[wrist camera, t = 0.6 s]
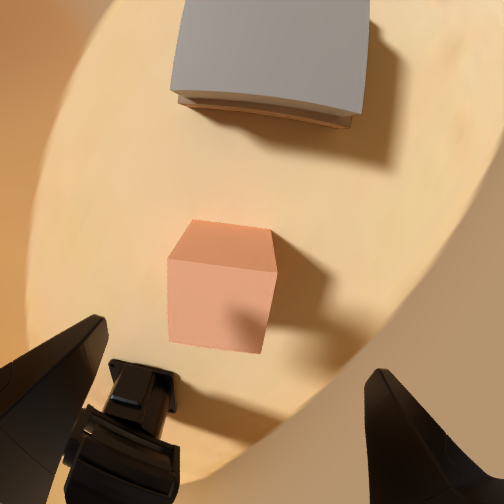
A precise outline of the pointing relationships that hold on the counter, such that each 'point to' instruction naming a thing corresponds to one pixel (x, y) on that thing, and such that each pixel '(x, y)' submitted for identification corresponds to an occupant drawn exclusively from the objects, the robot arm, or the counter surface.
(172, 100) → the counter surface
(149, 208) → the counter surface
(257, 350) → the block
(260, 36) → the tower top
